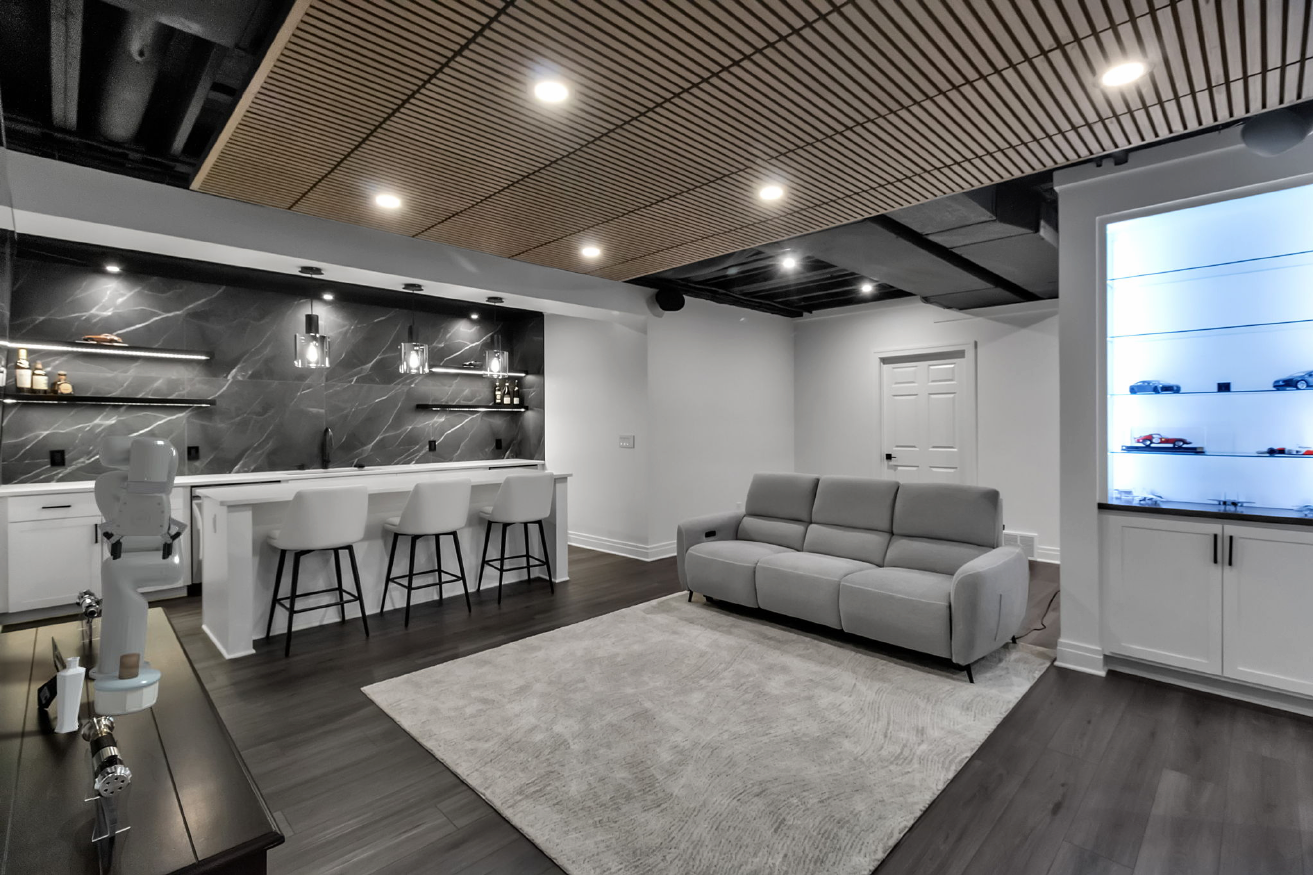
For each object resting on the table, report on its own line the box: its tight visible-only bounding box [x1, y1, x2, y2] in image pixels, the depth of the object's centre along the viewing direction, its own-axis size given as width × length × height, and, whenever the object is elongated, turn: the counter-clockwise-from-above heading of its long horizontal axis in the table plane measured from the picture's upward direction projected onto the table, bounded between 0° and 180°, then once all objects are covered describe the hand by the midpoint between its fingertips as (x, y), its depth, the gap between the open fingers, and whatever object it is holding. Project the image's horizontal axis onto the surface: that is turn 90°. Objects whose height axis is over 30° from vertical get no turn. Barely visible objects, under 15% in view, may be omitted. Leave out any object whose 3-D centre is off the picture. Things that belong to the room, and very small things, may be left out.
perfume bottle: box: [54, 656, 86, 734], centre depth 136 cm, size 5×4×15 cm
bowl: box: [93, 680, 160, 717], centre depth 148 cm, size 11×11×6 cm
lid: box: [93, 653, 162, 692], centre depth 148 cm, size 12×12×6 cm
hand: (141, 558), depth 154 cm, fingers open, 9 cm apart
